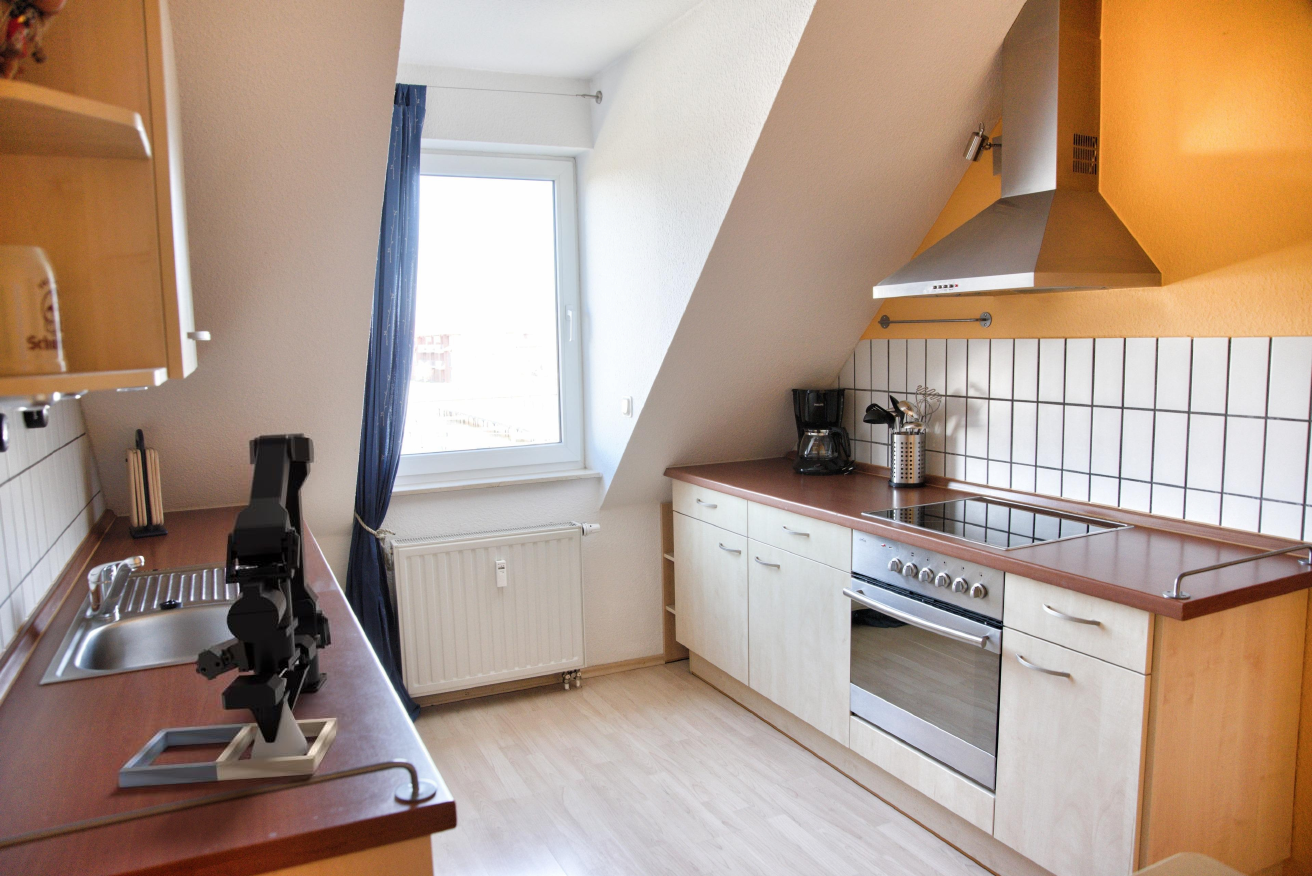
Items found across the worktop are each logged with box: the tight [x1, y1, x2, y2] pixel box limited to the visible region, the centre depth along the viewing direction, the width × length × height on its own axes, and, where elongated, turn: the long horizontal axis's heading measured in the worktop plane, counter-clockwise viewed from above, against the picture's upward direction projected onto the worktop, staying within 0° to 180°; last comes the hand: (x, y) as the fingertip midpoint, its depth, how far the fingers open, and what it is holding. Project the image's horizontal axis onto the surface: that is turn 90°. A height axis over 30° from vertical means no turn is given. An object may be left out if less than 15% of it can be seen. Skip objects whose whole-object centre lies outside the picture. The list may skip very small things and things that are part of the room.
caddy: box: [117, 717, 339, 788], centre depth 116 cm, size 12×23×2 cm, turn 96°
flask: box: [249, 678, 308, 759], centre depth 116 cm, size 7×7×10 cm
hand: (277, 732), depth 116 cm, fingers open, 5 cm apart
